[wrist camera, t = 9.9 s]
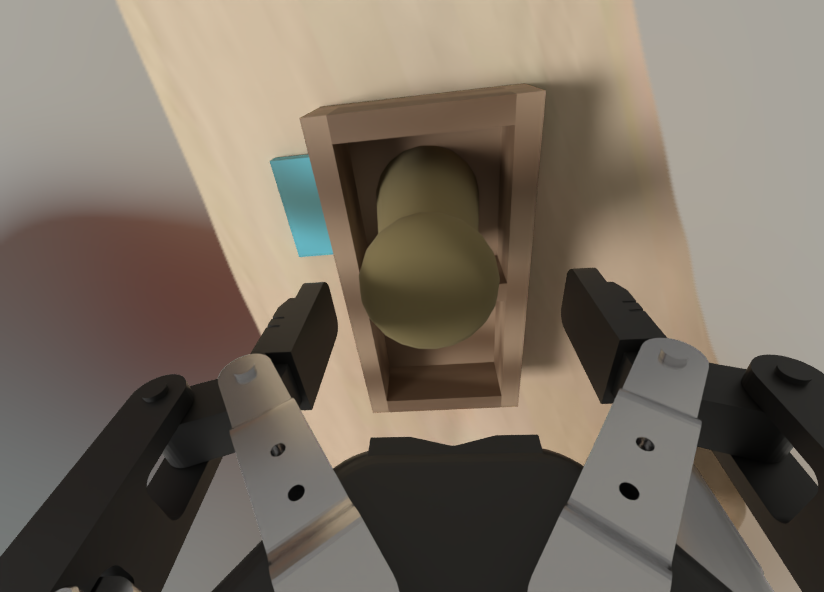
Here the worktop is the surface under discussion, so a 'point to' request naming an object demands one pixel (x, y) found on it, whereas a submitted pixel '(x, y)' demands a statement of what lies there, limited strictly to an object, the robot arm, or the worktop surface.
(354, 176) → the wooden divided tray
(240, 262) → the worktop surface
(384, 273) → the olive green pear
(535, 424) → the worktop surface
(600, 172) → the worktop surface
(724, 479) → the worktop surface
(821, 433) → the robot arm
